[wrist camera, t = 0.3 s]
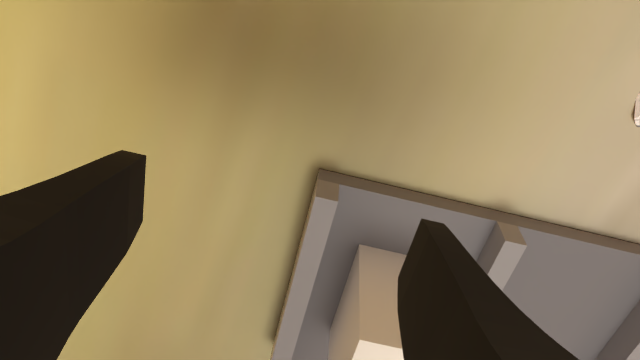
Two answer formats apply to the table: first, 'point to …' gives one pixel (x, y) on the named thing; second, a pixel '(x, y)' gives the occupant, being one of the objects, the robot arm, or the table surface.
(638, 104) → the cloth
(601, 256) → the slot rack
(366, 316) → the white plug
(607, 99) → the table surface
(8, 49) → the table surface
